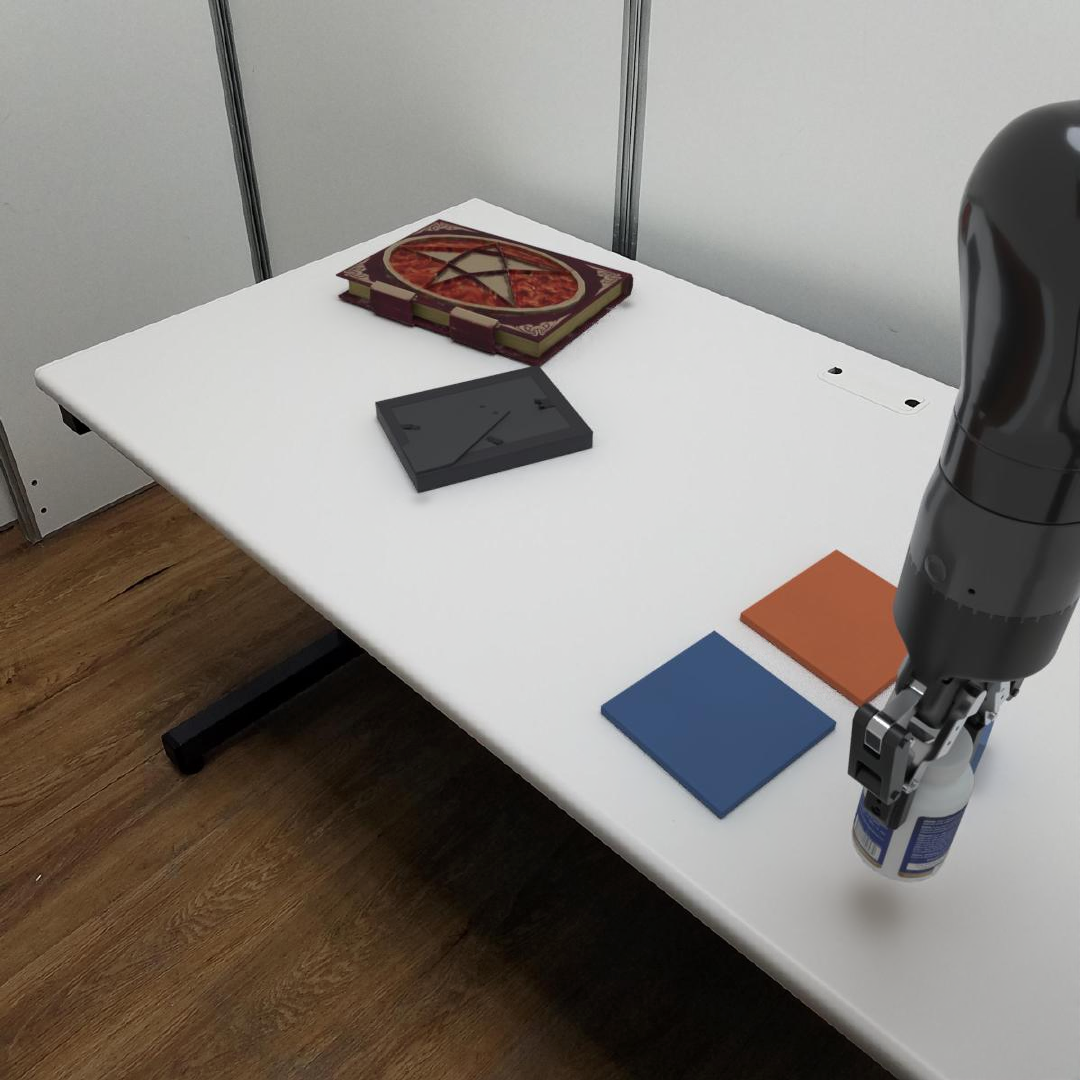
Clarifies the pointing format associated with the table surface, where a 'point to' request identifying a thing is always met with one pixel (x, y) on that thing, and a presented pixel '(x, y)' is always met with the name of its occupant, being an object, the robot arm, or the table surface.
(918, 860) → the pill bottle
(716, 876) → the table surface
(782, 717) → the blue mat
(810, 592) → the terracotta mat
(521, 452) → the picture frame
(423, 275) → the book
